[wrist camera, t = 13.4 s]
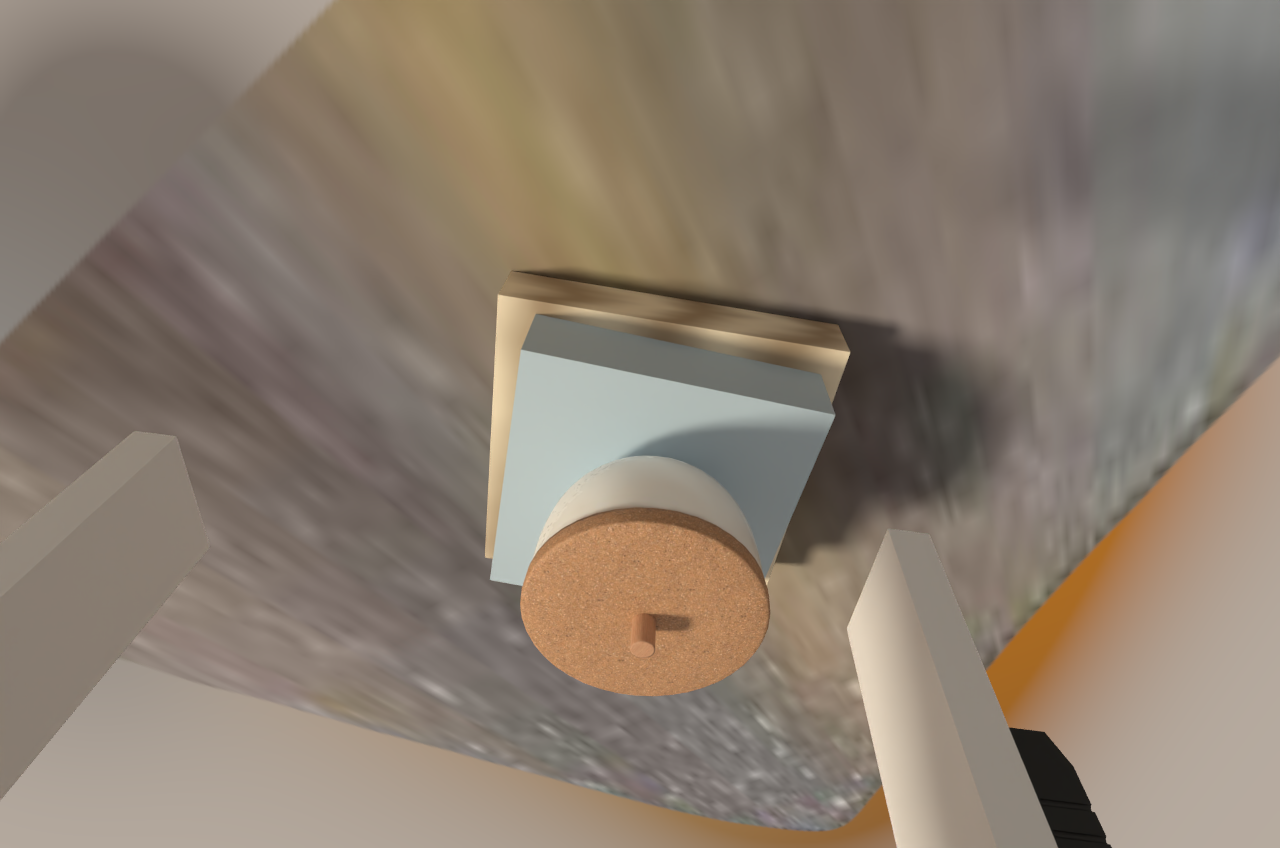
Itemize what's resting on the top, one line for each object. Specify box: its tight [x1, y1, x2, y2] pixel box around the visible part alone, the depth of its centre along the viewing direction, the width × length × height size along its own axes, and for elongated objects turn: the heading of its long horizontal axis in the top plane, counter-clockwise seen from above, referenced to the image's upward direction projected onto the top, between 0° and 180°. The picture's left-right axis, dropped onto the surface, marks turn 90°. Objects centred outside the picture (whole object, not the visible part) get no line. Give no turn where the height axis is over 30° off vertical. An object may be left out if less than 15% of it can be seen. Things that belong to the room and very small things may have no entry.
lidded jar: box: [520, 455, 770, 696], centre depth 33 cm, size 11×11×9 cm
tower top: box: [490, 314, 835, 586], centre depth 38 cm, size 15×15×4 cm
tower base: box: [485, 271, 850, 585], centre depth 42 cm, size 18×18×4 cm
